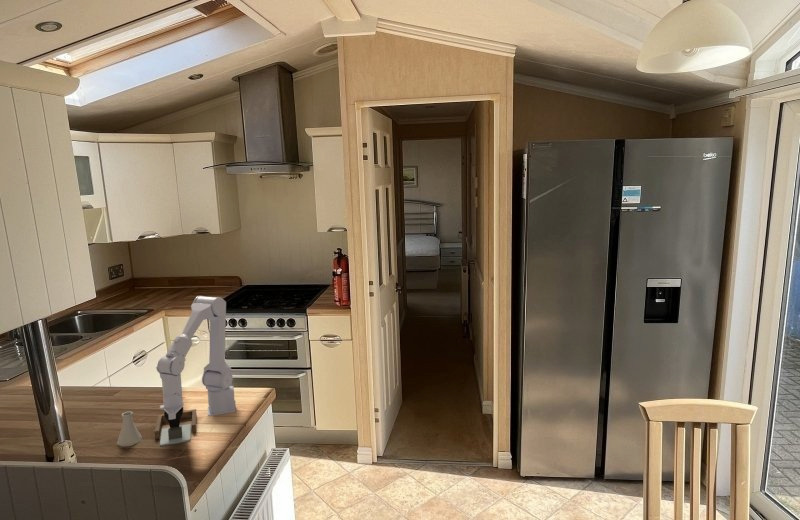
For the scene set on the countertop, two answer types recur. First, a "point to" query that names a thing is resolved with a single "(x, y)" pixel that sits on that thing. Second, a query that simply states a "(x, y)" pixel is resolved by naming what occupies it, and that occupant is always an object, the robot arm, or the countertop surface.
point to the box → (185, 419)
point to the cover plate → (185, 436)
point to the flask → (128, 431)
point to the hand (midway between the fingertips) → (175, 430)
